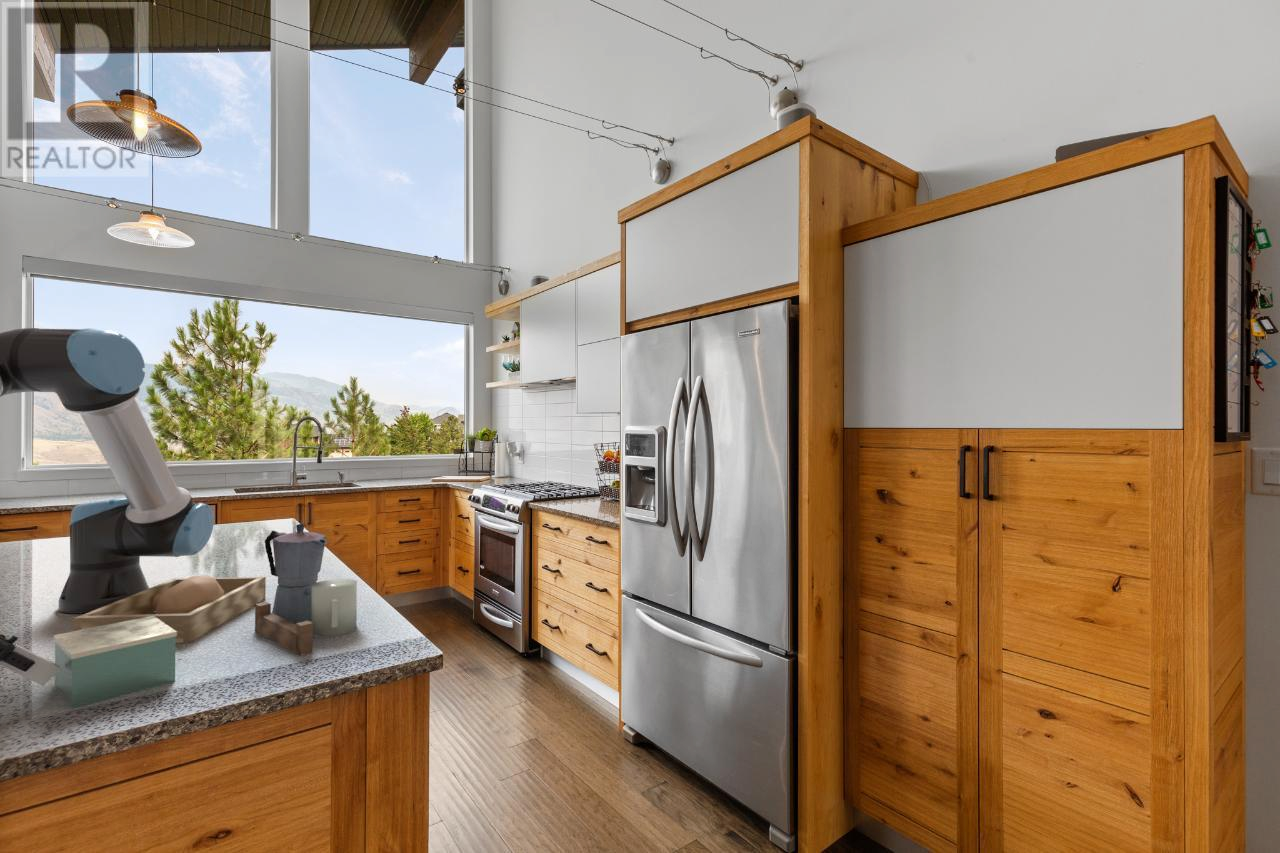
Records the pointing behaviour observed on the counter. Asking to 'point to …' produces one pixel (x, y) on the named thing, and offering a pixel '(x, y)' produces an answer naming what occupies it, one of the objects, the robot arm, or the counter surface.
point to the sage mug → (334, 607)
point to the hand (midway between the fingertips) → (51, 675)
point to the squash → (187, 595)
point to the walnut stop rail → (284, 630)
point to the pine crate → (189, 625)
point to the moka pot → (295, 571)
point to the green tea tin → (114, 660)
